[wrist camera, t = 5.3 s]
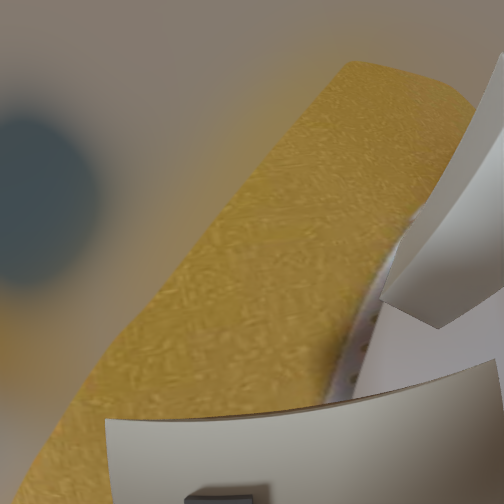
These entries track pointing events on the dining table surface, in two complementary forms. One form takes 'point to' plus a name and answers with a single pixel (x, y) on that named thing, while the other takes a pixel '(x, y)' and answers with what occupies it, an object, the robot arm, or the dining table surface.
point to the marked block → (324, 450)
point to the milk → (458, 225)
